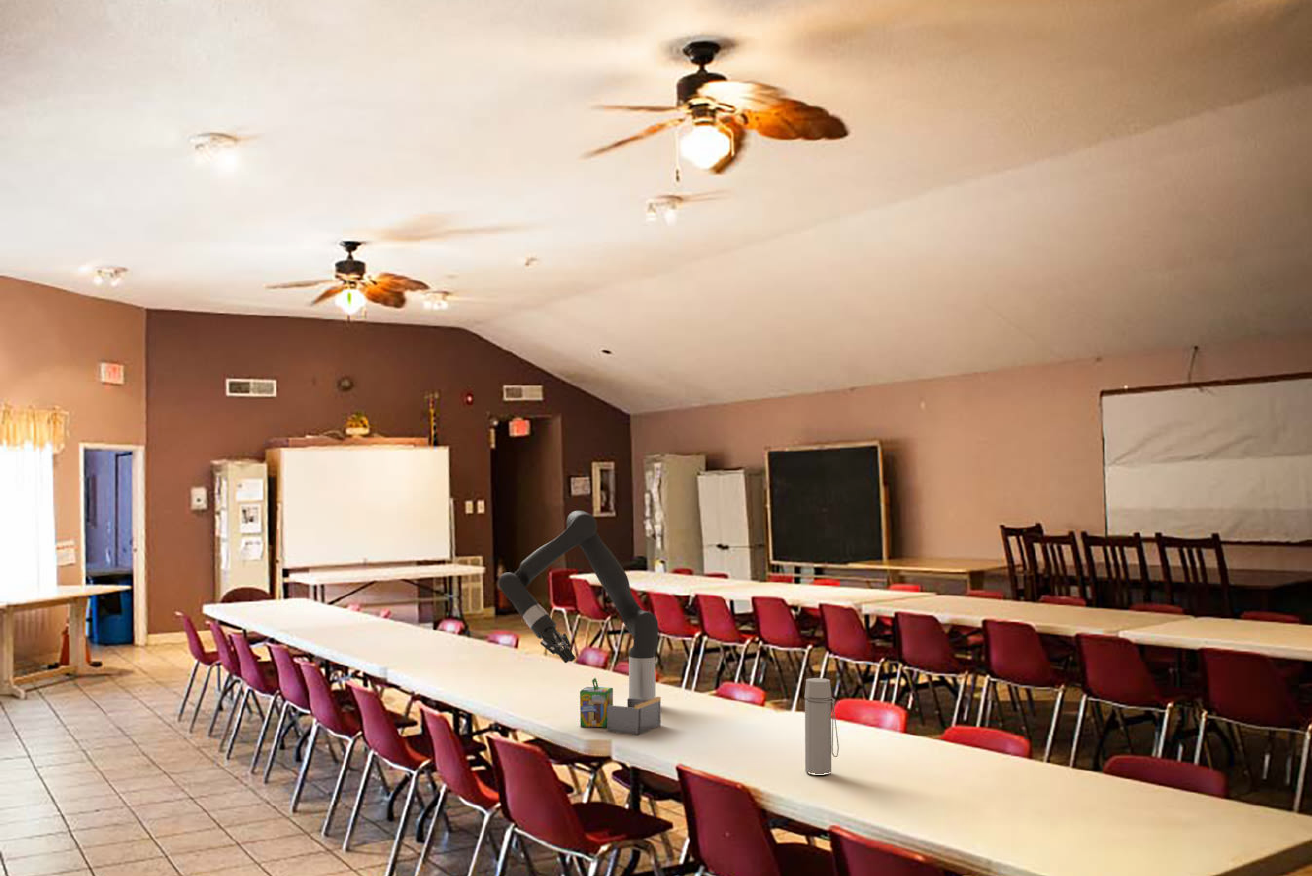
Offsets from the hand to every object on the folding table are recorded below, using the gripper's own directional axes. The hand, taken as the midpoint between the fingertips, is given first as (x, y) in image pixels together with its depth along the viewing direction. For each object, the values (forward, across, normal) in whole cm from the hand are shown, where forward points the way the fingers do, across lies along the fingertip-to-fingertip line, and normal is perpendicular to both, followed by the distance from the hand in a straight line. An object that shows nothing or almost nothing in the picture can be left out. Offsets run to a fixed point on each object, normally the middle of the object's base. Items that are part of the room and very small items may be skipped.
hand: (570, 660), depth 376 cm
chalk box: (+21, 0, +7) cm, 23 cm away
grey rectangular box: (+31, 0, -3) cm, 31 cm away
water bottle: (+81, -28, -53) cm, 101 cm away
